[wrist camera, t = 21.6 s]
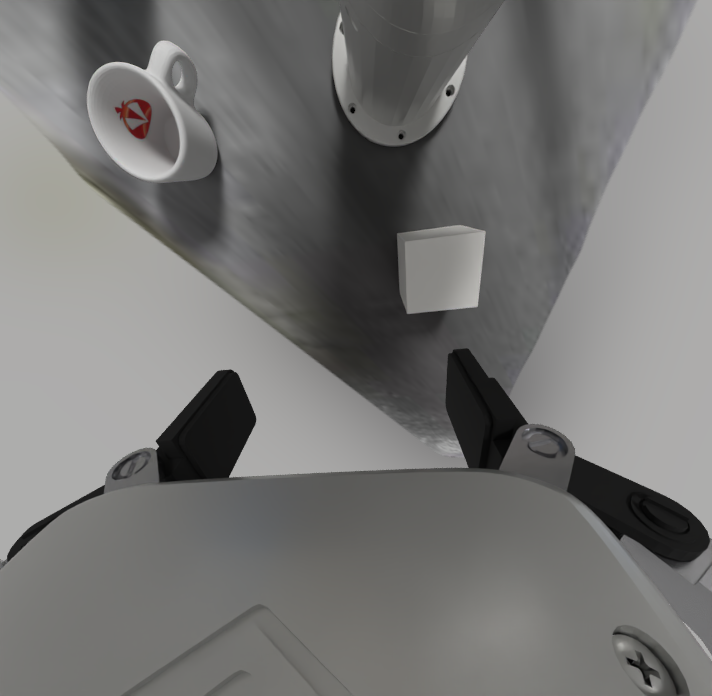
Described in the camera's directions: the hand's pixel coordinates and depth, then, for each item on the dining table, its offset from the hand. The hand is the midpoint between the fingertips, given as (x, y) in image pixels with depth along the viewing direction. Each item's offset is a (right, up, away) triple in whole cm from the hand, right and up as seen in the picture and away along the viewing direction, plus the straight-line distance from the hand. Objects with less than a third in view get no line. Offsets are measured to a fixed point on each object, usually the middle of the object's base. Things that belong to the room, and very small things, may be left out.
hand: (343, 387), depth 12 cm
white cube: (+10, +13, +22) cm, 28 cm away
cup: (-17, +25, +17) cm, 35 cm away
